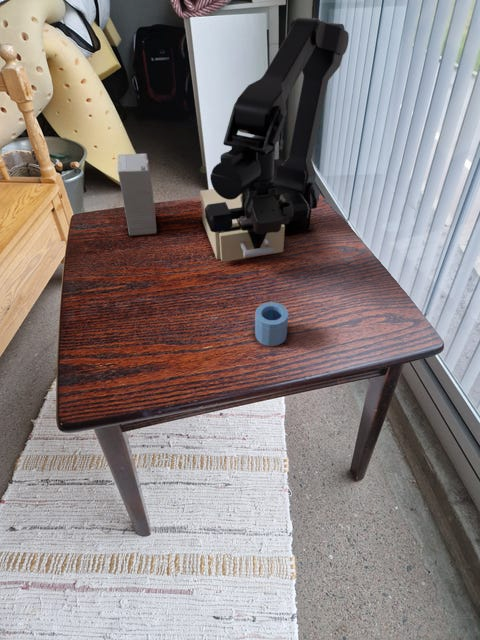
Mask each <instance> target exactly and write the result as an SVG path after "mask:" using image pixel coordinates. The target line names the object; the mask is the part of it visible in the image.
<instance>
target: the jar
mask: <svg viewBox="0 0 480 640" xmlns="http://www.w3.org/2000/svg"><path fill="white" fill-rule="evenodd" d="M288 323H289V310H288V309H287V307H286V306H284V305H283V304H281V303H278V302H276V301H270V302H264V303H261V304H260V305H259V306H258V307H257V308H256V309H255V313H254V334H255V335H254V336H255V338H256V339H255V340H257V342H258V343H260V344H261V345H264V346H266V347H276V346H279V345H282V344H283V343H284V342H285V341H286V340H287V334H288V325H289V324H288Z"/></svg>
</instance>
